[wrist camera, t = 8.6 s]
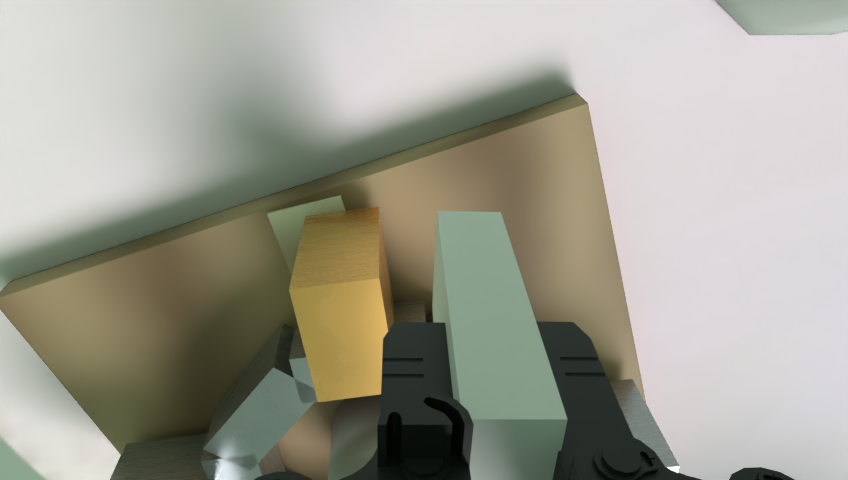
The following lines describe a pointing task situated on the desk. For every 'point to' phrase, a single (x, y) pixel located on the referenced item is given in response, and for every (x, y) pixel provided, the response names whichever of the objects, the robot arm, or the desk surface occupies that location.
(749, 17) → the flask
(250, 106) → the desk surface
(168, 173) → the desk surface
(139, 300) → the board
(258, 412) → the ring nut
